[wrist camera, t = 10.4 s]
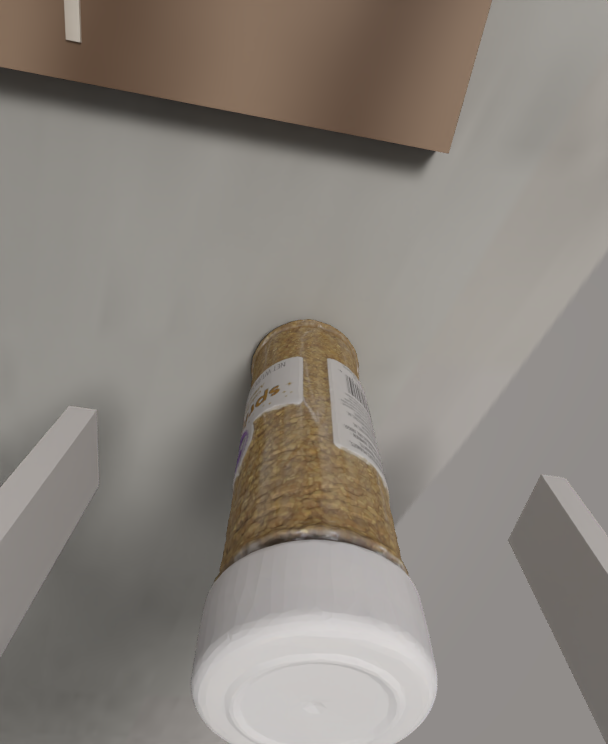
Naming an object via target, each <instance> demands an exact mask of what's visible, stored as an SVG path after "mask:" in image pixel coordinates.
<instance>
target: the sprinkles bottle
mask: <svg viewBox="0 0 608 744" xmlns="http://www.w3.org/2000/svg"><path fill="white" fill-rule="evenodd" d="M251 373H252V383H251V390H250V392H249V395H248V399H247V403H246V409H245V415H244V421H243V428H242V435H241V440H240V447H239V454H238V459H237V465H236V470H235V475H234V481H233V489H232V491H233V498H232V504H231V511H230V516H229V520H228V527H227V533H226V543H225V548H224V552H223V558H222V562H221V566H220V573H219V575H218V576H217V577H216V578H215V581H214V583H213V585H212V587H211V589H210V591H209V592H208V595H207V598H206V601H205V605H204V610H203V614H202V619H201V624H200V629H199V634H198V639H197V645H196V651H195V658H194V664H193V670H192V677H191V693H192V697H193V700H194V704H195V707H196V709H197V711H198V713H199V715H200V716H201V718H202V719H203V721H204V722H205V723H206V725H207V726H208V727H209V728H210V729H211V730H212V731H213V732H214V733H216V734H217V735H218V736H219V737H221V738H222V739H223V740H225V741H226V742H228V743H230V744H395V743H397V742H399V741H400V740H401V739H403V738H405V737H407V736H408V735H409V734H410V733H412V732H413V731H414V730H415V729H416V728H417V727H418V726H419V725H420V724H421V723H422V722H423V721H424V719H425V718H426V716H427V715H428V713H429V712H430V710H431V708H432V706H433V704H434V701H435V697H436V693H437V682H438V681H437V671H436V665H435V661H434V656H433V651H432V647H431V642H430V637H429V632H428V627H427V623H426V620H425V615H424V612H423V608H422V604H421V600H420V596H419V594H418V592H417V589H416V587H415V586H414V584H413V582H412V580H411V579H410V577H409V575H408V571H407V569H406V567H405V566H404V564H403V562H402V560H401V556H400V550H399V546H398V543H397V537H396V533H395V529H394V523H393V518H392V514H391V511H390V501H389V491H388V486H387V482H386V478H385V474H384V470H383V467H382V462H381V458H380V454H379V450H378V446H377V442H376V437H375V433H374V429H373V425H372V420H371V416H370V412H369V408H368V404H367V400H366V396H365V392H364V389H363V387H362V385H361V383H360V381H359V377H358V375H359V363H358V359H357V354H356V351H355V349H354V347H353V346H352V344H351V343H350V341H349V340H348V338H346V336H345V335H344V334H343V333H341V332H340V331H338V330H337V329H336V328H334V327H332V326H331V325H328V324H324V323H322V322H318V321H315V320H311V319H307V320H297V321H292V322H289V323H287V324H285V325H282V326H280V327H278V328H275V329H274V330H273V331H272V332H270V333H269V334H267V335H266V337H265V338H264V339H263V340H262V341H261V343H260V344H259V346H258V348H257V349H256V352H255V354H254V355H253V361H252V367H251Z"/></svg>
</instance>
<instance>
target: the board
mask: <svg viewBox="0 0 608 744" xmlns="http://www.w3.org/2000/svg"><path fill="white" fill-rule="evenodd" d="M491 2H492V0H0V67H4V68H9V69H14V70H20V71H25V72H30V73H35V74H40V75H45V76H51V77H56V78H61V79H66V80H71V81H76V82H82V83H87V84H92V85H97V86H102V87H107V88H113V89H118V90H123V91H128V92H133V93H138V94H144V95H149V96H154V97H159V98H164V99H169V100H175V101H180V102H185V103H190V104H195V105H200V106H206V107H211V108H216V109H221V110H226V111H231V112H237V113H242V114H247V115H252V116H257V117H262V118H268V119H273V120H278V121H283V122H288V123H293V124H299V125H304V126H309V127H314V128H319V129H324V130H330V131H335V132H340V133H345V134H350V135H355V136H361V137H366V138H371V139H376V140H381V141H386V142H392V143H397V144H402V145H407V146H412V147H417V148H423V149H428V150H433V151H438V152H443V153H449V150H450V147H451V143H452V140H453V136H454V133H455V129H456V125H457V122H458V118H459V115H460V111H461V108H462V104H463V101H464V97H465V94H466V90H467V87H468V83H469V80H470V76H471V73H472V69H473V66H474V62H475V59H476V55H477V51H478V48H479V44H480V41H481V37H482V34H483V30H484V27H485V23H486V20H487V16H488V13H489V9H490V6H491Z"/></svg>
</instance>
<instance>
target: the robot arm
mask: <svg viewBox="0 0 608 744" xmlns="http://www.w3.org/2000/svg"><path fill="white" fill-rule="evenodd" d="M98 487H99V461H98V425H97V410H95V409H89V408H82V407H75V406H69V407H68V408H67V409H66V410H65V411H64V412H63V414H62V415H61V416H60V417H59V418H58V420H57V421H56V422H55V423H54V424H53V426H52V427H51V428H50V429H49V430H48V431H47V433H46V434H45V435H44V436H43V437H42V439H41V440H40V441H39V442H38V443H37V444H36V446H35V447H34V448H33V449H32V450H31V452H30V453H29V454H28V455H27V456H26V458H25V459H24V460H23V461H22V462H21V463H20V465H19V466H18V467H17V468H16V469H15V471H14V472H13V473H12V474H11V475H10V477H9V478H8V479H7V480H6V481H5V482H4V484H3V485H2V486H1V487H0V657H1V655H2V654H3V652H4V650H5V649H6V647H7V645H8V643H9V642H10V640H11V638H12V636H13V635H14V633H15V631H16V629H17V628H18V626H19V624H20V622H21V621H22V619H23V617H24V615H25V614H26V612H27V610H28V608H29V607H30V605H31V603H32V602H33V600H34V598H35V596H36V595H37V593H38V591H39V589H40V588H41V586H42V584H43V582H44V581H45V579H46V577H47V575H48V574H49V572H50V570H51V568H52V567H53V565H54V563H55V561H56V560H57V558H58V556H59V554H60V553H61V551H62V549H63V548H64V546H65V544H66V542H67V541H68V539H69V537H70V535H71V534H72V532H73V530H74V528H75V527H76V525H77V523H78V521H79V520H80V518H81V516H82V514H83V513H84V511H85V509H86V507H87V506H88V504H89V502H90V500H91V499H92V497H93V495H94V494H95V492H96V490H97V488H98ZM508 541H509V543H510V545H511V547H512V549H513V551H514V554H515V556H516V558H517V560H518V562H519V564H520V566H521V568H522V570H523V572H524V574H525V576H526V578H527V581H528V583H529V585H530V587H531V589H532V591H533V593H534V595H535V597H536V599H537V601H538V603H539V605H540V607H541V610H542V612H543V613H544V616H545V618H546V620H547V622H548V624H549V626H550V628H551V630H552V632H553V634H554V636H555V639H556V640H557V642H558V645H559V647H560V649H561V651H562V653H563V655H564V657H565V659H566V661H567V663H568V665H569V668H570V669H571V672H572V674H573V676H574V678H575V680H576V682H577V684H578V686H579V688H580V690H581V692H582V695H583V697H584V699H585V700H586V703H587V705H588V707H589V709H590V711H591V713H592V715H593V717H594V719H595V721H596V723H597V726H598V728H599V730H600V732H601V734H602V736H603V738H604V740H605V742H606V744H608V536H607V534H606V533H605V532H604V530H603V529H602V528H601V526H600V525H599V523H598V522H597V521H596V519H595V518H594V517H593V515H592V514H591V512H590V511H589V510H588V509H587V507H586V506H585V504H584V503H583V501H582V500H581V499H580V497H579V496H578V495H577V493H576V492H575V491H574V489H573V488H572V486H571V485H570V484H569V482H568V481H567V480H566V478H563V477H556V476H549V475H541V476H540V478H539V480H538V482H537V484H536V486H535V488H534V490H533V492H532V494H531V496H530V498H529V500H528V502H527V503H526V505H525V508H524V510H523V511H522V514H521V515H520V517H519V519H518V521H517V523H516V525H515V528H514V529H513V532H512V533H511V536H510V537H509V539H508Z"/></svg>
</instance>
